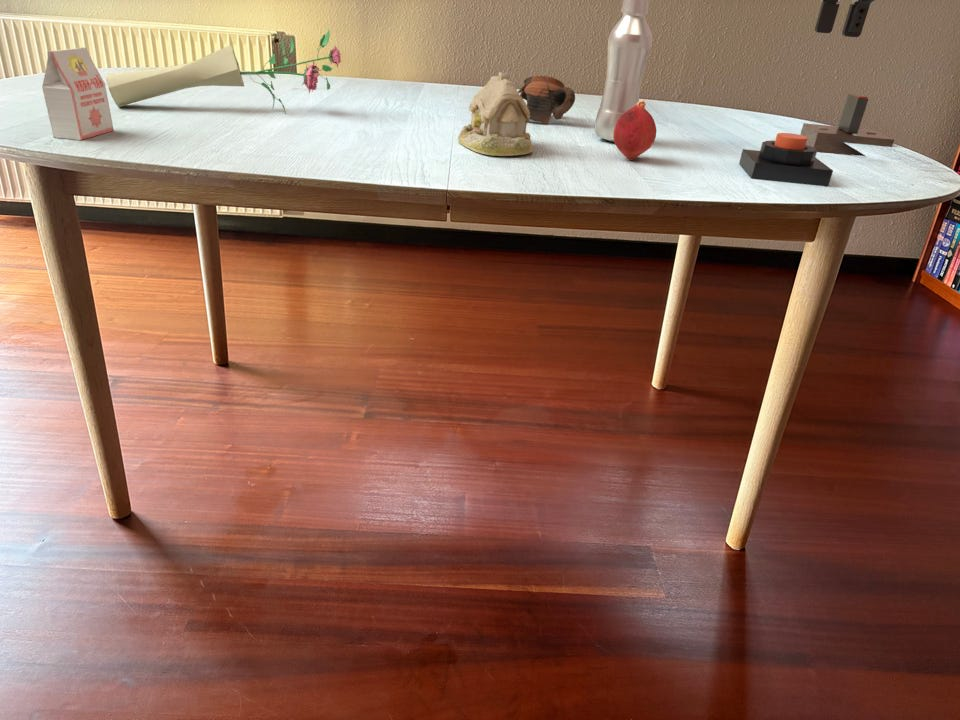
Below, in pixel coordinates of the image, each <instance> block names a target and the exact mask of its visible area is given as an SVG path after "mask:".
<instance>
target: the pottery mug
mask: <svg viewBox="0 0 960 720" xmlns="http://www.w3.org/2000/svg"><path fill="white" fill-rule="evenodd" d="M523 83H524V85H523V86H521V87H520V88H519V89H518V90H517V92H518V93H519V95H520V96H521V97H522V98H523V100H524V101H526V105H527V107H528V110H529V112H530V118H529V121H533V122H537V123H542V124H545V125H549V124H550V120H551V117H552V116H553V118H554V119H555V120H561V119H562V118H563V116H564V115H565V114H566V113H568V112H569V111H570V110H571V109H572V107H573V106H574V104H575V101H576V93H575V91H574V90H573V89H572V88H571V87H568V86H565V84H564V82H562V81H561V80H559V79H557V78H555V77H552V76H547V75H533V76H528V77H526V78H525V79H524V80H523Z"/></svg>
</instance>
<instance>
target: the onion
mask: <svg viewBox="0 0 960 720" xmlns="http://www.w3.org/2000/svg"><path fill="white" fill-rule="evenodd" d="M646 105H647V103H646V101H644V100H639V102H638V103H637V104H636V105H635V106H634V107H633V108H631V109H629V110H628V111H626V112H625V113H624V114H623V115H622V116H621V117H620V118H619V120H618V121H617V123H616V125H615V128H614V135H613V139H614V142H613V143H614V145H615V147H616V148H617V150H618V151H619V152H620V153H621V154H622V155H623V156H624V157H625V158H626V159H627V160H628V161H634V160H636V159H638V157H639V156H641V155H642V154H644V153H646V152H647V151H648V150H649V149H651V147H652V146H653V145H654V144H655V140H656V137H657V124H656V122H655V119H654V118H653V116H652V115H651V113H650V112H649V111H648V110H647V109H646V107H645V106H646Z"/></svg>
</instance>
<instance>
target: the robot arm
mask: <svg viewBox="0 0 960 720" xmlns="http://www.w3.org/2000/svg"><path fill="white" fill-rule="evenodd" d="M819 1H820V2H821V4H820V8H819V12H818V15H817V20H816V22H815V26H814V31H815V33H819V34H830V33H832V32H833V29H834V25H835V23H836V19H837V15H838V11H839V7H840V4H839V3H841V1H842V0H819ZM875 2H876V0H851V3H850V4H849V7H848V11H847V13H846V17H845V21H844V24H843V28H842V30H841V35H842V36H843V37H846V38H847V37H849V38H859V37H860V36H861V35H862V32H863V30H864V29H863V28H864V25H865V23H866V19H867V15H868V14H869V13H868V12H869V9H870V6H873V5H874V3H875Z"/></svg>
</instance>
